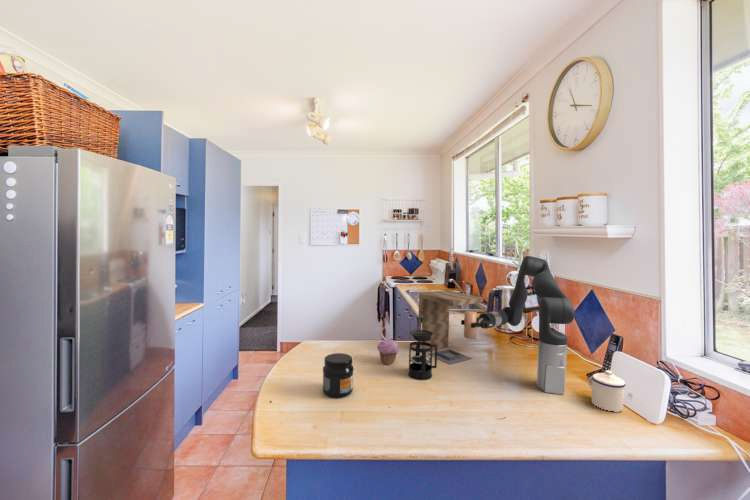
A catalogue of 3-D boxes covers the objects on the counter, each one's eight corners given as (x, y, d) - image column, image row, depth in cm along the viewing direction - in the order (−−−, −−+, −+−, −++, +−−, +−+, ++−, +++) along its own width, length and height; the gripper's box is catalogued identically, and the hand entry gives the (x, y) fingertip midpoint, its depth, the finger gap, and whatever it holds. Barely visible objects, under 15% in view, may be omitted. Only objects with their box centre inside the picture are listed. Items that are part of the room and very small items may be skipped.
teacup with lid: (631, 412, 107) (633, 376, 107) (606, 414, 106) (608, 377, 105) (599, 394, 119) (601, 362, 118) (577, 396, 117) (579, 363, 117)
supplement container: (359, 393, 116) (359, 358, 115) (333, 402, 109) (334, 366, 108) (341, 382, 124) (342, 350, 123) (316, 390, 117) (317, 356, 116)
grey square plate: (449, 349, 163) (449, 346, 163) (472, 358, 151) (472, 355, 151) (427, 354, 155) (427, 351, 155) (449, 364, 143) (449, 361, 143)
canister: (476, 339, 157) (477, 313, 156) (464, 338, 158) (464, 313, 157) (475, 336, 162) (476, 311, 161) (463, 335, 163) (464, 310, 163)
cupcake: (373, 361, 145) (373, 338, 145) (388, 357, 150) (389, 335, 150) (386, 368, 138) (387, 344, 137) (402, 363, 143) (402, 340, 143)
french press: (409, 380, 127) (411, 320, 126) (404, 370, 136) (405, 314, 135) (439, 379, 128) (441, 320, 127) (432, 369, 138) (433, 314, 136)
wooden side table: (445, 345, 168) (447, 290, 167) (480, 360, 150) (482, 297, 148) (417, 351, 158) (419, 292, 157) (451, 367, 140) (453, 301, 139)
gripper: (478, 309, 173) (455, 313, 164) (502, 315, 161) (479, 319, 152) (478, 324, 173) (455, 328, 164) (502, 330, 161) (478, 335, 152)
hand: (466, 324), depth 158 cm, fingers closed on canister, 5 cm apart
